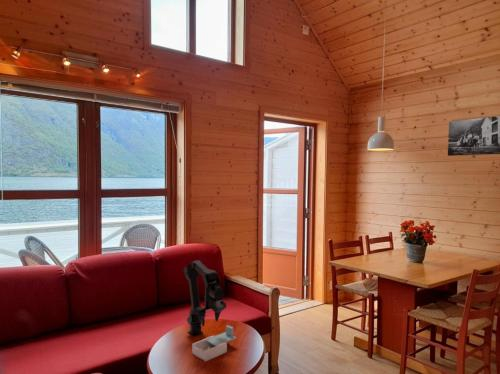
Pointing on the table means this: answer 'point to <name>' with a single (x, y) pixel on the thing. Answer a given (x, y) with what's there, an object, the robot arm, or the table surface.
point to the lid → (222, 337)
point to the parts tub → (208, 349)
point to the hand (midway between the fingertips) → (210, 323)
